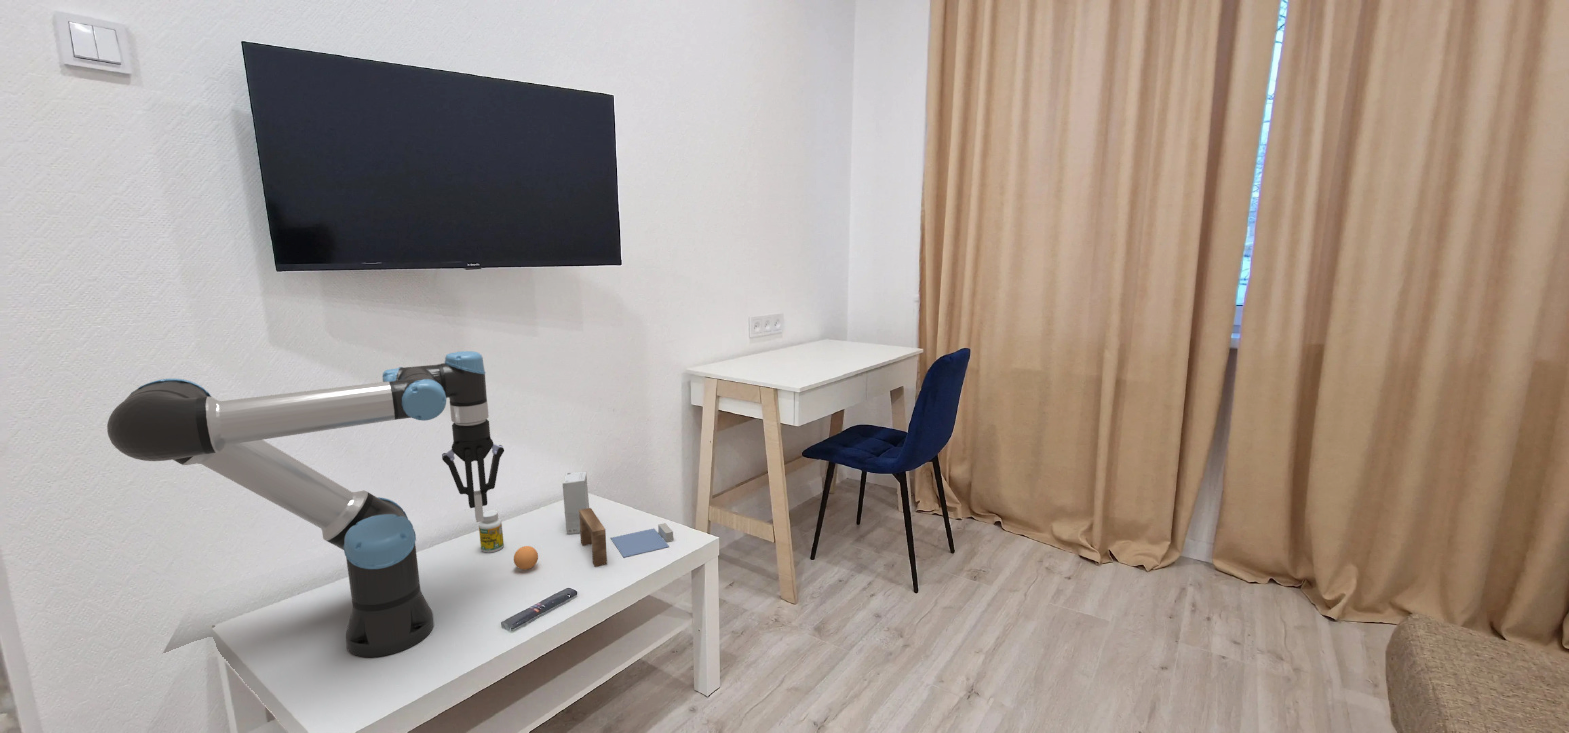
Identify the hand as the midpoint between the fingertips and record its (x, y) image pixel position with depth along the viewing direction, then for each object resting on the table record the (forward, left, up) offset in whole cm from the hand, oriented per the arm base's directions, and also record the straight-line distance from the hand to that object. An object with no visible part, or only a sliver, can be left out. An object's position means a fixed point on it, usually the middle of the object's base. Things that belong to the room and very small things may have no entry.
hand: (479, 519), depth 151 cm
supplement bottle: (+3, +15, -15) cm, 21 cm away
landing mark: (+37, 0, -15) cm, 40 cm away
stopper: (+44, 0, -15) cm, 47 cm away
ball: (+9, 0, -12) cm, 15 cm away
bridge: (+25, 0, -15) cm, 29 cm away
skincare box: (+25, +17, -15) cm, 34 cm away
